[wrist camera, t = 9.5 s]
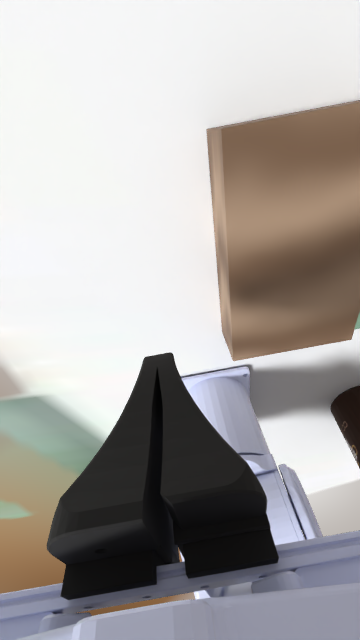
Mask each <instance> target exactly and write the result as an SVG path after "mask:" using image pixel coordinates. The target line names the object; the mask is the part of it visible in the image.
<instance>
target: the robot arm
mask: <svg viewBox="0 0 360 640" xmlns="http://www.w3.org/2000/svg"><path fill="white" fill-rule="evenodd" d="M278 466H279V469H280V472H281V475H282V477H283V481H282V479H281V476H280V474H279V471H278V469H277V466H276V464H275V461H274V458H273V456H272V454H270V451H269V449H268V446H267V443H266V441H265V438H264V436H263V433H262V430H261V428H260V425H259V423H258V420H257V417H256V415H255V412H254V409H253V407H252V404H251V402H250V370H249V368H248V367H239V368H234V369H228V370H223V371H217V372H212V373H206V374H201V375H195V376H190V377H184V378H181V377H180V375H179V373H178V370H177V368H176V365H175V361H174V356H173V354H172V353H165V354H159V355H154V356H148V357H145V358H144V360H143V364H142V367H141V370H140V373H139V376H138V379H137V381H136V384H135V386H134V389H133V391H132V393H131V396H130V398H129V400H128V402H127V404H126V406H125V408H124V410H123V412H122V414H121V416H120V418H119V420H118V421H117V423H116V425H115V427H114V428H113V430H112V432H111V433H110V435H109V436H108V438H107V439H106V441H105V442H104V444H103V445H102V447H101V448H100V450H99V451H98V452H97V454H96V455H95V456H94V458H93V459H92V460H91V462H90V463H89V464H88V466H87V467H86V468H85V470H84V471H83V472H82V473H81V475H80V476H79V477H78V478H77V479H76V481H75V482H74V483H73V484H72V485H71V486H70V488H69V489H68V490H67V491H66V492H65V493H64V494H63V496H62V497H61V498H60V500H59V503H58V506H57V509H56V512H55V515H54V518H53V521H52V525H51V530H50V534H49V538H48V542H47V550H48V551H49V552H50V553H51V554H52V555H53V556H55V557H56V558H57V559H59V560H60V561H62V562H63V563H65V564H66V569H65V575H64V580H63V583H61V584H55V585H49V586H44V587H38V588H32V589H26V590H21V591H15V592H9V593H5V594H0V640H360V530H359V531H353V532H347V533H341V534H336V535H331V536H325V537H323V536H322V533H321V530H320V528H319V525H318V523H317V520H316V518H315V515H314V513H313V510H312V508H311V506H310V503H309V501H308V499H307V496H306V494H305V492H304V489H303V487H302V485H301V483H300V481H299V479H298V477H297V475H296V473H295V471H294V470H293V469H291V468H289V467H287V466H286V465H285V464H282V465H278ZM283 482H284V484H283ZM284 485H285V487H286V489H285V487H284ZM286 490H287V492H286ZM287 493H288V494H287ZM301 530H302V531H301ZM302 532H303V533H302ZM303 534H304V536H303ZM304 537H305V539H304ZM178 548H179V550H180V554H181V558H182V561H183V562H180V560H179V553H178ZM190 592H194V594H195V598H196V600H181V601H173V602H167V603H162V604H156V605H150V606H145V607H139V608H133V609H128V610H122V611H117V612H111V613H105V614H99V615H95V616H92V615H91V614H90V613H77V612H82V611H88V610H94V609H100V608H105V607H111V606H117V605H122V604H128V603H134V602H139V601H145V600H150V599H156V598H162V597H168V596H173V595H178V594H185V593H190Z"/></svg>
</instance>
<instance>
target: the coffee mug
mask: <svg viewBox="0 0 360 640" xmlns="http://www.w3.org/2000/svg"><path fill="white" fill-rule="evenodd" d="M331 412H332V414H333V416H334V418H335V420H336V422H337V424H338V426H339V428H340V430H341V432H342V434H343V436H344V438H345V440H346V442H347V444H348V446H349V448H350V450H351V452H352V454H353V456H354V458H355V460H356V462H357V464H358V466H359V468H360V386H357V387H354V388H351V389H349V390H347V391H345V392H343V393H342V394H340V395H339V396H338V397H337V398H336V399H335V400H334V401H333V403H332V405H331Z"/></svg>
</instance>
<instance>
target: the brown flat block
mask: <svg viewBox="0 0 360 640" xmlns="http://www.w3.org/2000/svg"><path fill="white" fill-rule="evenodd" d="M207 142H208V155H209V168H210V181H211V193H212V206H213V219H214V232H215V245H216V258H217V271H218V284H219V296H220V309H221V322H222V333H223V335H224V338H225V341H226V343H227V346H228V349H229V351H230V354H231V357H232V359H233V361H237V360H242V359H248V358H253V357H259V356H264V355H270V354H275V353H281V352H286V351H291V350H297V349H302V348H308V347H313V346H319V345H324V344H330V343H335V342H341V341H346V340H351V339H352V336H353V332H354V329H355V325H356V322H357V318H358V315H359V312H360V100H358V101H353V102H347V103H342V104H337V105H332V106H326V107H321V108H316V109H310V110H305V111H300V112H295V113H289V114H284V115H279V116H274V117H268V118H263V119H258V120H252V121H247V122H242V123H237V124H231V125H226V126H221V127H216V128H210V129H207Z"/></svg>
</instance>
